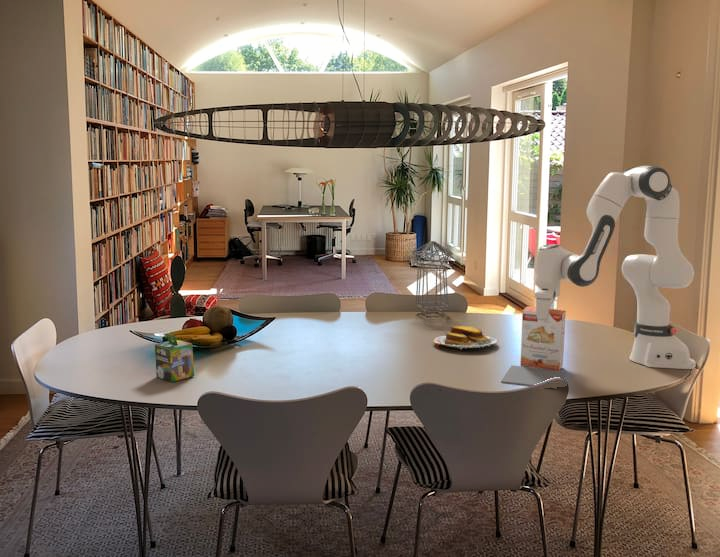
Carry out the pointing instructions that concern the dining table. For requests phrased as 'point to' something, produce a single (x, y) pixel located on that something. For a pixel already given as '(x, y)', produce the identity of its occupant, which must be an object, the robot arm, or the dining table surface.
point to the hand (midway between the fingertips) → (544, 327)
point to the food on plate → (465, 338)
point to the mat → (529, 375)
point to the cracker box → (543, 339)
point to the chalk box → (174, 360)
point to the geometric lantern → (438, 246)
